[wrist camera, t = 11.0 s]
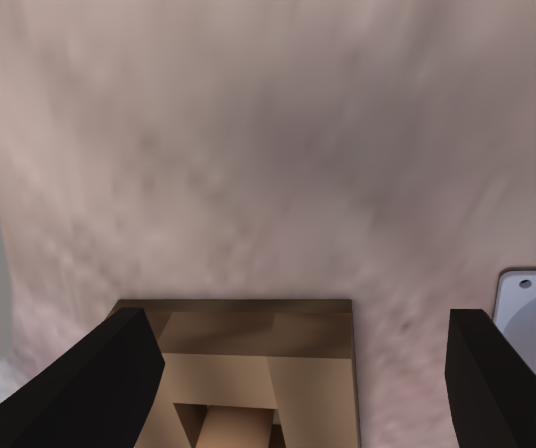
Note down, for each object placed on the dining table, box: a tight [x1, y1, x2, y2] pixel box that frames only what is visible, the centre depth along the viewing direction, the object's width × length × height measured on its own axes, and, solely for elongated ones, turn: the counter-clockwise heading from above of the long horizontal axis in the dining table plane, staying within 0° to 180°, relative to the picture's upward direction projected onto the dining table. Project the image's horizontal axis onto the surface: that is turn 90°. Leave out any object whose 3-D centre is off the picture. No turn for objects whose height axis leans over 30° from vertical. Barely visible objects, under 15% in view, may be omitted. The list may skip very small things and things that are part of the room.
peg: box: [196, 405, 275, 448], centre depth 24 cm, size 4×4×7 cm
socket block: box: [105, 300, 361, 448], centre depth 26 cm, size 14×14×4 cm
